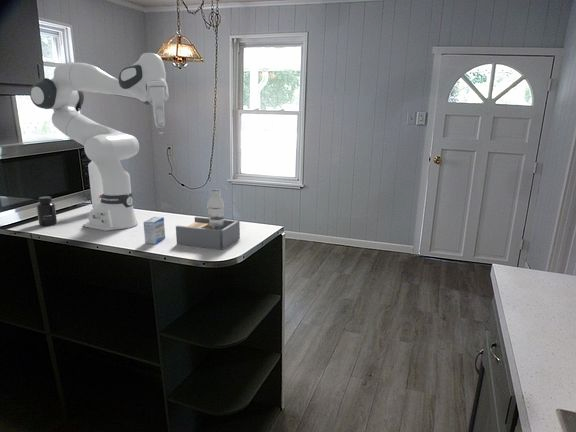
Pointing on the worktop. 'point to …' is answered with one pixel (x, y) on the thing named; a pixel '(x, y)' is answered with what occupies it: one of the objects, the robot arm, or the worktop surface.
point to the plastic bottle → (216, 210)
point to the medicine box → (154, 230)
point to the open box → (208, 234)
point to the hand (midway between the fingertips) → (161, 127)
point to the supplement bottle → (46, 212)
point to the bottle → (95, 183)
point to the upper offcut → (199, 225)
